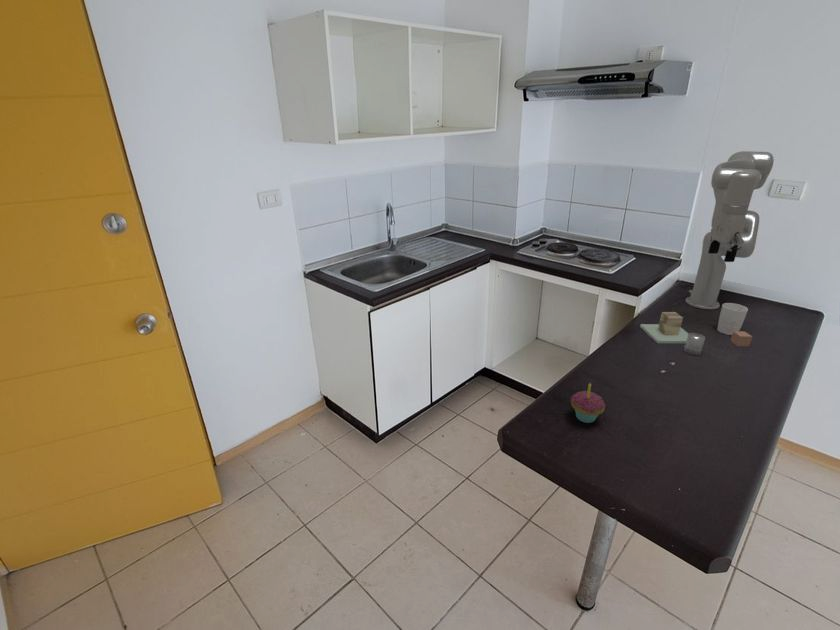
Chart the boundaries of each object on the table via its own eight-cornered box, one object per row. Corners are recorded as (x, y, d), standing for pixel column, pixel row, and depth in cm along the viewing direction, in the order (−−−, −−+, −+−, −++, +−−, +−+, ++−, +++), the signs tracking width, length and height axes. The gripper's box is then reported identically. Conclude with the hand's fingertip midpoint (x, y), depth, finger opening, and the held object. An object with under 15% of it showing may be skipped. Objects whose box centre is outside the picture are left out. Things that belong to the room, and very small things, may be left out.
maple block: (657, 329, 165) (661, 312, 162) (671, 329, 165) (675, 312, 162) (664, 335, 160) (669, 317, 157) (678, 335, 160) (683, 317, 157)
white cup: (717, 334, 163) (724, 309, 159) (713, 325, 170) (720, 301, 166) (742, 337, 161) (750, 312, 157) (737, 329, 167) (745, 304, 163)
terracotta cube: (730, 341, 158) (733, 331, 156) (741, 341, 158) (744, 331, 156) (737, 346, 154) (740, 336, 153) (749, 346, 154) (752, 336, 153)
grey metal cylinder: (681, 348, 153) (685, 332, 151) (695, 348, 153) (699, 332, 151) (689, 355, 149) (693, 339, 146) (703, 355, 149) (708, 339, 146)
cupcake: (598, 431, 112) (606, 391, 107) (564, 420, 116) (570, 381, 111) (605, 414, 119) (613, 375, 114) (573, 404, 123) (579, 366, 118)
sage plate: (639, 326, 169) (640, 324, 169) (676, 326, 169) (677, 324, 169) (657, 343, 156) (658, 340, 156) (697, 343, 156) (697, 341, 156)
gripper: (708, 204, 159) (696, 250, 167) (738, 215, 144) (724, 265, 151) (730, 204, 159) (717, 250, 167) (762, 215, 144) (746, 265, 151)
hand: (720, 257), depth 159 cm, fingers open, 9 cm apart
